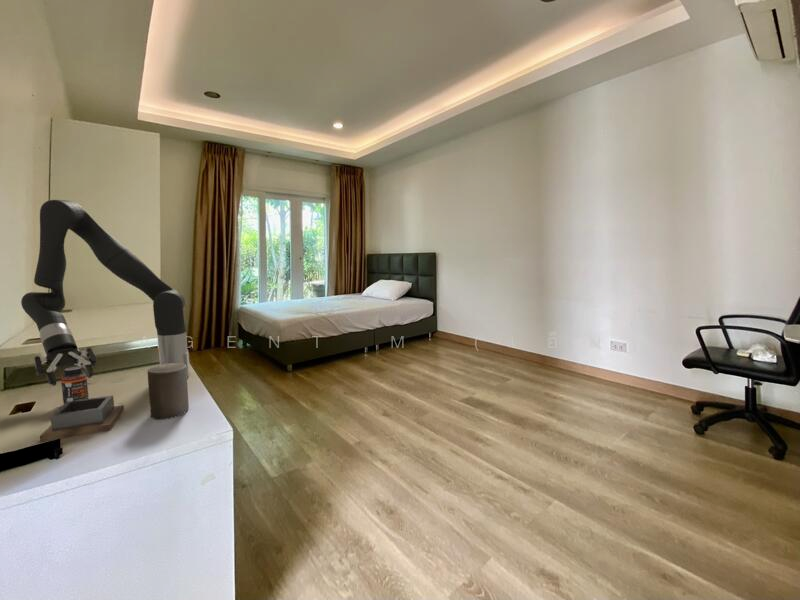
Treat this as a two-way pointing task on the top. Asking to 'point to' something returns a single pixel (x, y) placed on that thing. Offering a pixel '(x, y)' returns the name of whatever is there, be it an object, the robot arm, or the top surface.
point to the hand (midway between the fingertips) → (73, 380)
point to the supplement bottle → (74, 385)
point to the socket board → (83, 427)
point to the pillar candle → (168, 390)
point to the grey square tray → (82, 413)
